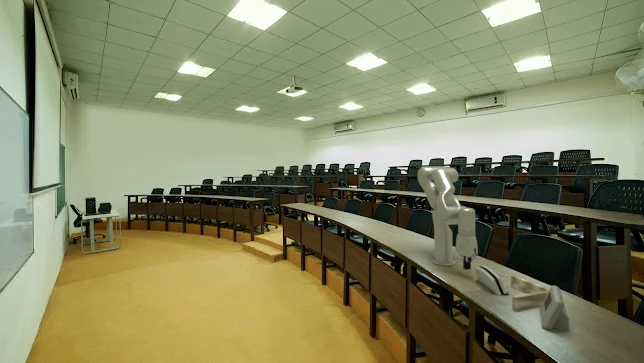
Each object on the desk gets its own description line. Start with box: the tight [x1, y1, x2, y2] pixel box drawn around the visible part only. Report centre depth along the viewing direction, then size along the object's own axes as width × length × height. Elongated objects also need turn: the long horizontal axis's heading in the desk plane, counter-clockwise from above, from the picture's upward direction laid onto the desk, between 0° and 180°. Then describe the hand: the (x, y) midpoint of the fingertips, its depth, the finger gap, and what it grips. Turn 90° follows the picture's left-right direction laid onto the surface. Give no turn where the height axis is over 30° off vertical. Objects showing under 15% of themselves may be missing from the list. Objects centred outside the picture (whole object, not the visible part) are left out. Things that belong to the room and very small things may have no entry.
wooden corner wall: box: [510, 275, 550, 312], centre depth 113 cm, size 18×20×5 cm
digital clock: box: [539, 285, 570, 332], centre depth 95 cm, size 16×9×11 cm, turn 132°
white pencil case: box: [474, 265, 511, 296], centre depth 124 cm, size 17×5×10 cm, turn 177°
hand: (467, 268), depth 137 cm, fingers closed
